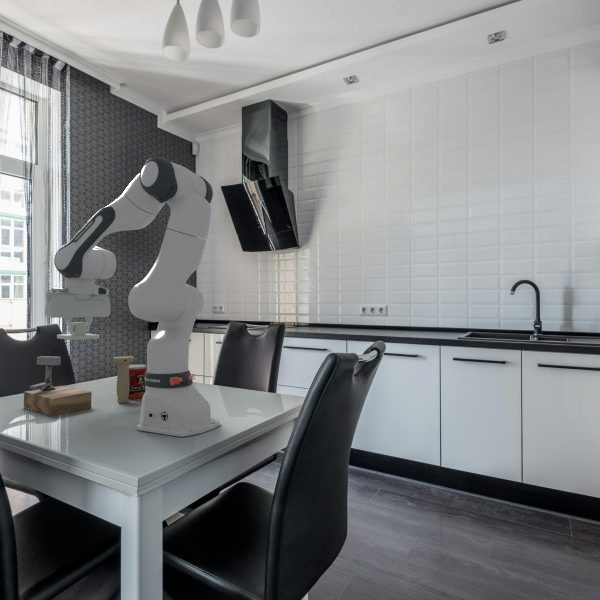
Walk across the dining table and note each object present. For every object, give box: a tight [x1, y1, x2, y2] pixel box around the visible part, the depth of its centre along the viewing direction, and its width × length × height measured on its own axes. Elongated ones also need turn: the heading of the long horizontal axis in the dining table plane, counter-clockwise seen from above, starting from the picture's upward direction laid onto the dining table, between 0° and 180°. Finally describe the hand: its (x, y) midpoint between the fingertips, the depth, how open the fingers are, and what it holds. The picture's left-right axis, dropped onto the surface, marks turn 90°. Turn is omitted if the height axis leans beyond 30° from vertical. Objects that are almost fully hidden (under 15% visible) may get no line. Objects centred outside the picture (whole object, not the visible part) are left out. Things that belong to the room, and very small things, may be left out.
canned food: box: [128, 363, 147, 400], centre depth 147 cm, size 8×8×11 cm
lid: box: [56, 321, 100, 341], centre depth 137 cm, size 9×9×5 cm
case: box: [23, 385, 92, 417], centre depth 131 cm, size 17×12×5 cm
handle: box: [112, 355, 135, 404], centre depth 139 cm, size 5×6×15 cm
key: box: [29, 355, 62, 390], centre depth 132 cm, size 8×7×10 cm
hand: (78, 331), depth 137 cm, fingers closed on lid, 3 cm apart
